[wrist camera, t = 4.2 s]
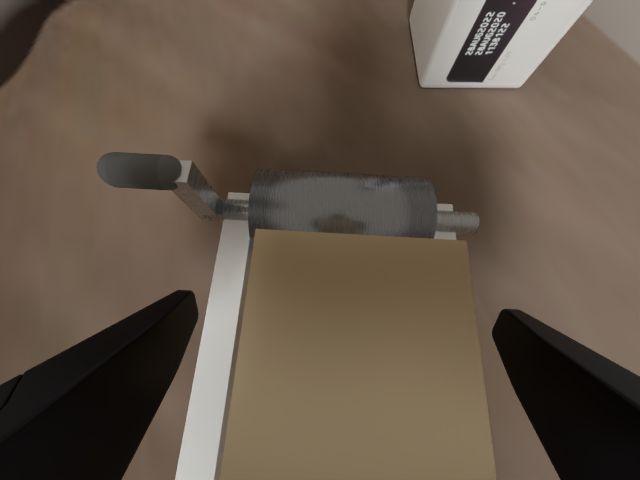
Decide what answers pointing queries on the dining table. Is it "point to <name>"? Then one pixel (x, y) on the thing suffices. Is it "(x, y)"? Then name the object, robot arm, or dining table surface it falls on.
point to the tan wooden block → (358, 362)
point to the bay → (236, 251)
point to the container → (486, 39)
